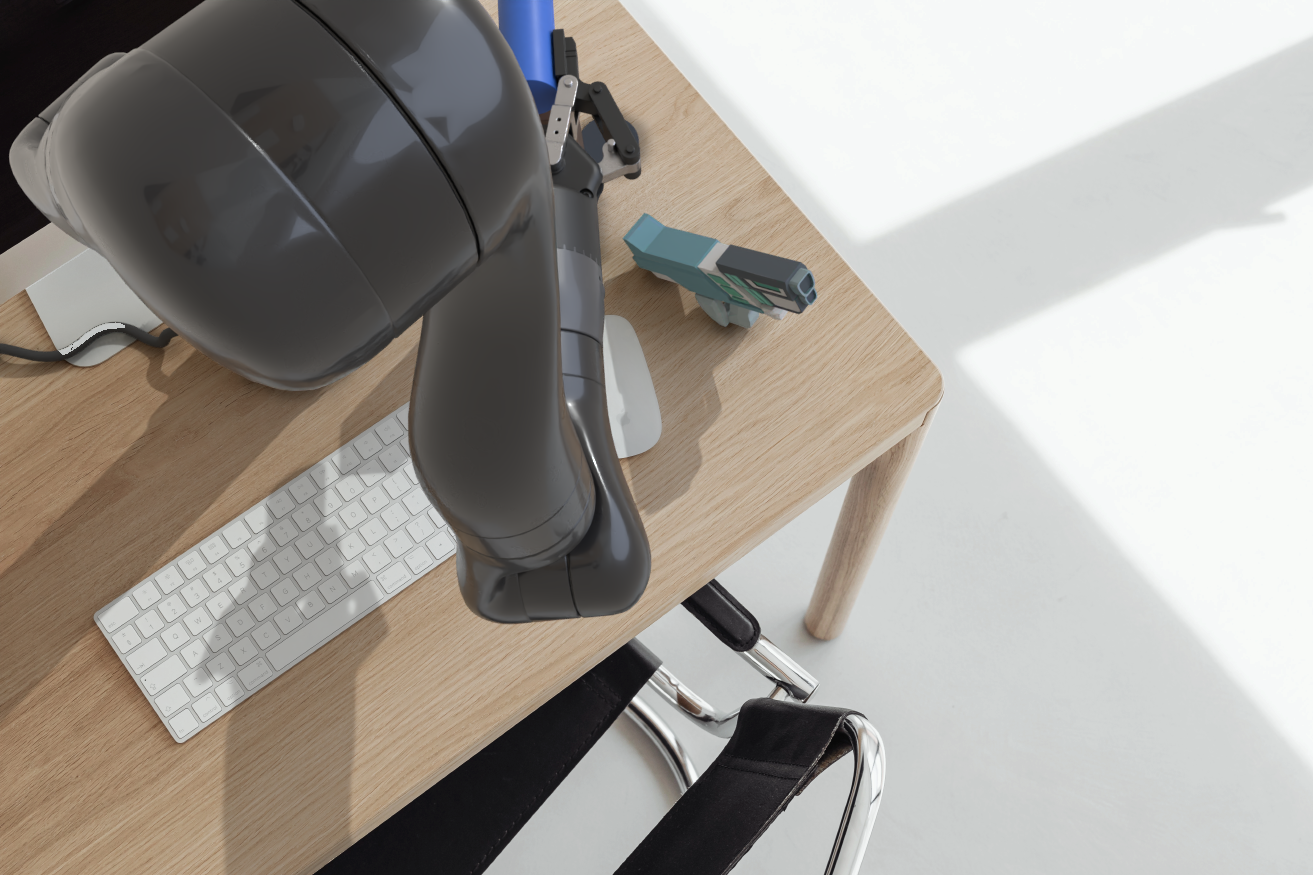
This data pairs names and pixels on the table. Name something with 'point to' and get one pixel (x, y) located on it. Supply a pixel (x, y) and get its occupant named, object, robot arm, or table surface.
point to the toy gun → (722, 273)
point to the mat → (598, 140)
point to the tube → (532, 45)
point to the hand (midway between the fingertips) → (527, 41)
